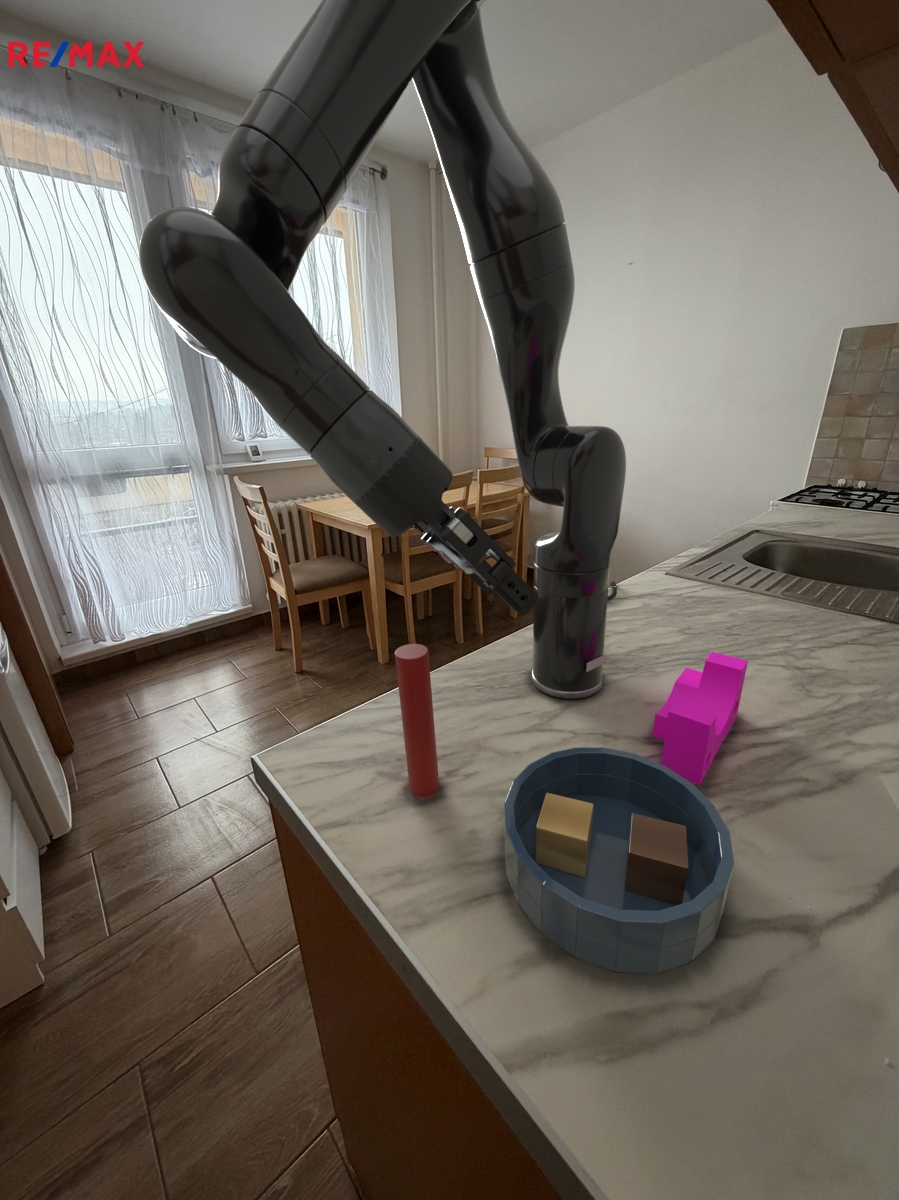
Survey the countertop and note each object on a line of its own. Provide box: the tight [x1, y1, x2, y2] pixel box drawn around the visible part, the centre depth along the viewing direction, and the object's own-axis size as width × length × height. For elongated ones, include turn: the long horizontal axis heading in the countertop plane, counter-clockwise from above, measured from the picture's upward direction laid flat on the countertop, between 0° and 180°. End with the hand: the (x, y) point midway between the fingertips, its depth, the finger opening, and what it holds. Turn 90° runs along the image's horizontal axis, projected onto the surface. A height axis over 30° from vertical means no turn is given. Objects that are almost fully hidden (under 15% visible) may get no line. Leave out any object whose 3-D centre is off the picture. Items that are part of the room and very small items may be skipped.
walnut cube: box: [625, 813, 688, 905], centre depth 38 cm, size 4×4×4 cm
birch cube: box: [536, 793, 594, 877], centre depth 40 cm, size 4×4×4 cm
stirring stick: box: [394, 643, 440, 798], centre depth 46 cm, size 3×3×16 cm
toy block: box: [652, 651, 749, 786], centre depth 53 cm, size 15×6×8 cm, turn 139°
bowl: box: [503, 747, 735, 975], centre depth 39 cm, size 17×17×6 cm
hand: (511, 596), depth 44 cm, fingers open, 8 cm apart
